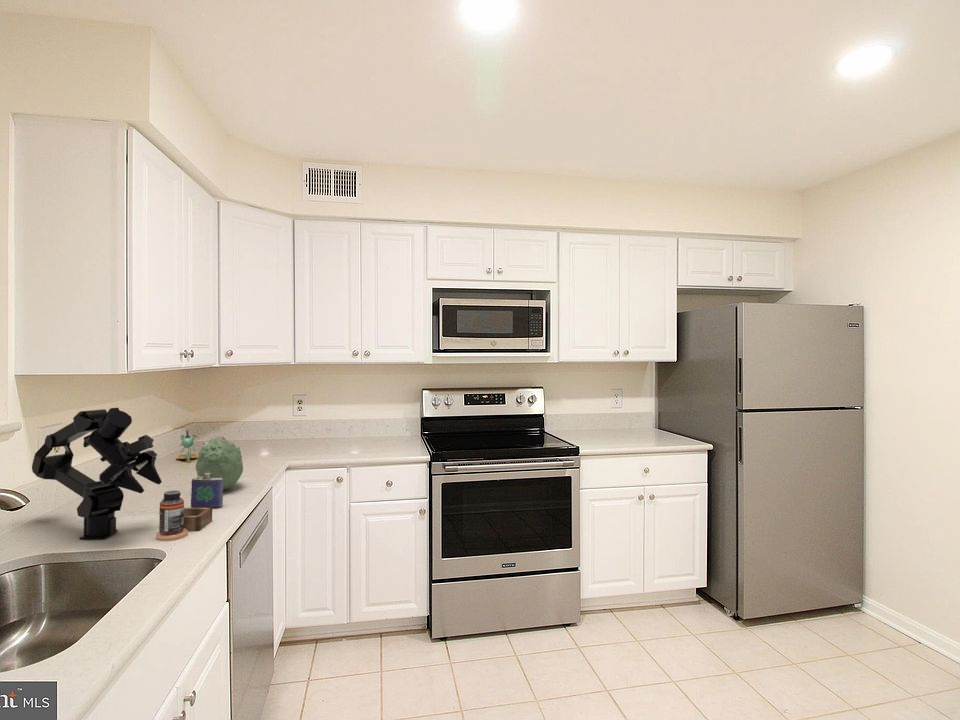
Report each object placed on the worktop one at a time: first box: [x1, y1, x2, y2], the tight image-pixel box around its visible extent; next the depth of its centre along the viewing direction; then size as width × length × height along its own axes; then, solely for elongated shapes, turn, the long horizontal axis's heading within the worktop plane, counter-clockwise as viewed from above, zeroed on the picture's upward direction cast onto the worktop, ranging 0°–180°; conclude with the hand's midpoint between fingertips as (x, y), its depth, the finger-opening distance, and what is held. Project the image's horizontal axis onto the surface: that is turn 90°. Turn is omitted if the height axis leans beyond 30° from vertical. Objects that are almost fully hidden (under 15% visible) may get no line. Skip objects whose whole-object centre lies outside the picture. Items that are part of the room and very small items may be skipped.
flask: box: [190, 473, 224, 510], centre depth 173 cm, size 10×3×12 cm, turn 95°
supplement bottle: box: [158, 489, 185, 535], centre depth 147 cm, size 6×6×11 cm
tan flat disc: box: [155, 528, 189, 542], centre depth 147 cm, size 8×8×1 cm
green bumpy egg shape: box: [195, 435, 244, 491], centre depth 193 cm, size 16×19×20 cm
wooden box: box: [184, 507, 213, 532], centre depth 155 cm, size 10×9×4 cm
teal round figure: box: [175, 429, 199, 464], centre depth 244 cm, size 10×18×15 cm, turn 17°
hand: (151, 487), depth 146 cm, fingers open, 9 cm apart
